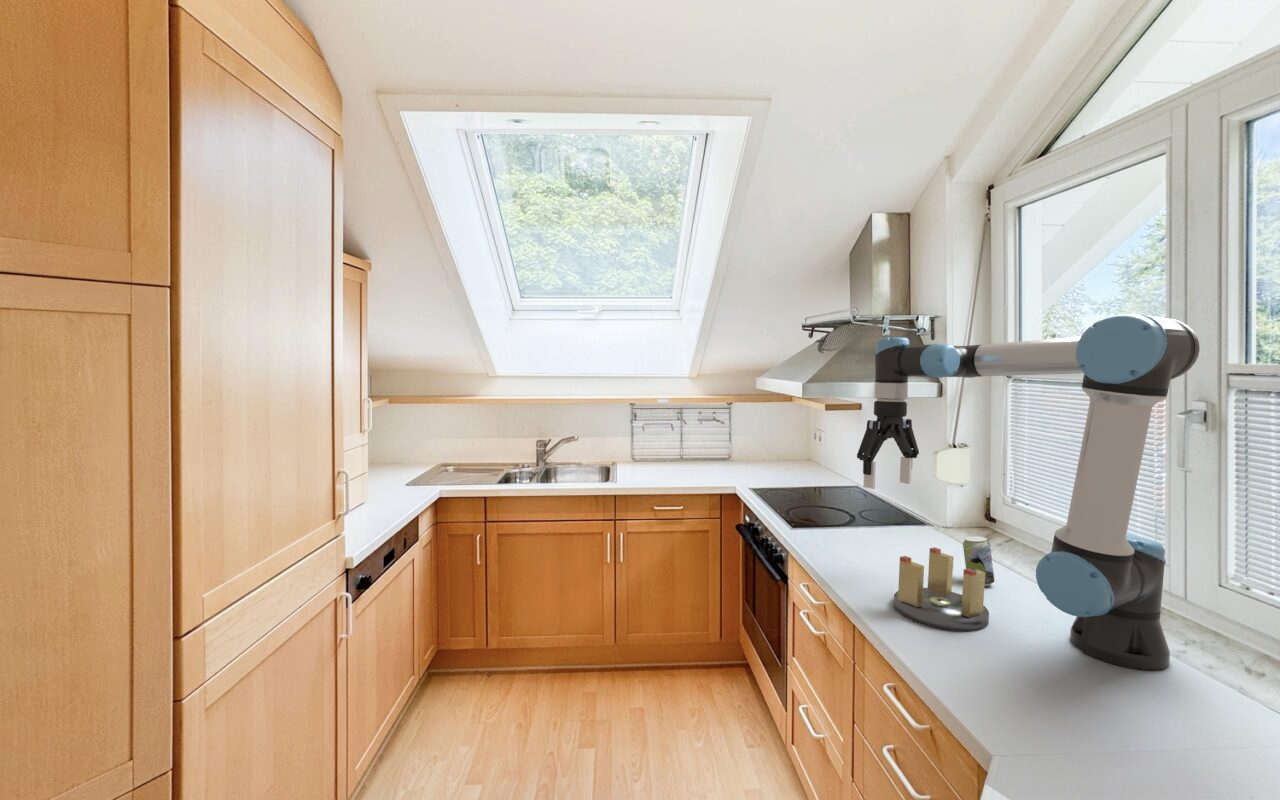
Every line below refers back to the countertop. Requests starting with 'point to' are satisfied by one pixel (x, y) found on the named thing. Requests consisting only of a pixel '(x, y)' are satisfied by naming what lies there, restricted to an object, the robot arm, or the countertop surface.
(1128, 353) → the robot arm
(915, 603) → the knob
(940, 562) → the knob
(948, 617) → the tribrach plate
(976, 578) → the knob
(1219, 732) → the countertop surface
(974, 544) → the beverage can
